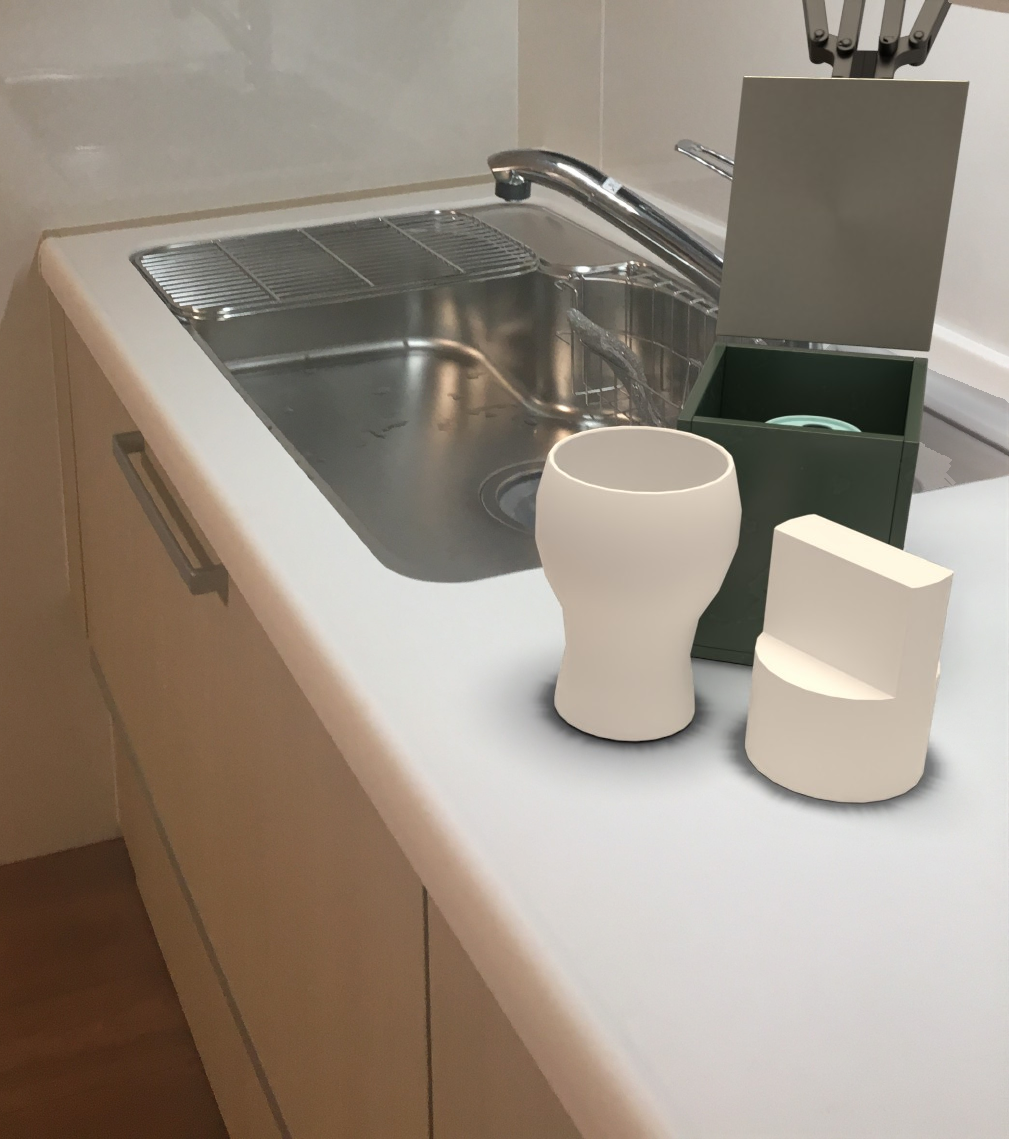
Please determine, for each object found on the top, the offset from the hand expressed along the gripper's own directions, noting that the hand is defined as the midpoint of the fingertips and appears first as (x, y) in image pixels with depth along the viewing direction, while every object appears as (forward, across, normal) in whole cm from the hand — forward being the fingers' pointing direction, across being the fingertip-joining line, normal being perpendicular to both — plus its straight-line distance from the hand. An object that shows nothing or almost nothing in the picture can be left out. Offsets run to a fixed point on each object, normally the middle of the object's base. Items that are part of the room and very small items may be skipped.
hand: (851, 147), depth 101 cm
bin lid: (+9, 0, -6) cm, 10 cm away
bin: (+31, 0, +5) cm, 31 cm away
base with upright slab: (+42, +4, -6) cm, 43 cm away
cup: (+41, -7, -5) cm, 42 cm away
